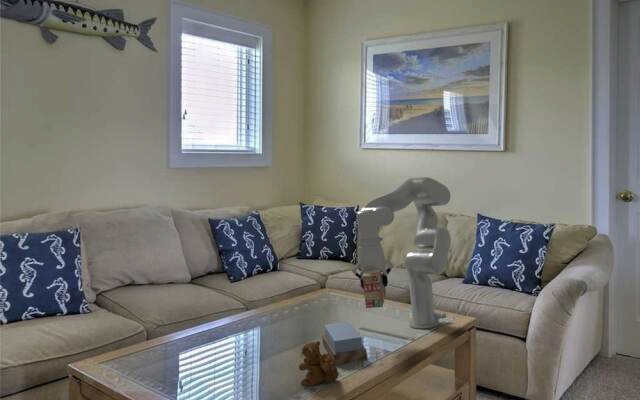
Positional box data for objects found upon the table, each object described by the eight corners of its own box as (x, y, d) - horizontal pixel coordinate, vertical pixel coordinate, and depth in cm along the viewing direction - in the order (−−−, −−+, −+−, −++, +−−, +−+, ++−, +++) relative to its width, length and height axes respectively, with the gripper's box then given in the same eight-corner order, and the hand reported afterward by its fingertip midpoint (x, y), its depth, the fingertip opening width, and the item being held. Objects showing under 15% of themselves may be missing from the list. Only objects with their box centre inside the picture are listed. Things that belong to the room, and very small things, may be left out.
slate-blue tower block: (349, 332, 230) (348, 321, 230) (362, 349, 207) (361, 337, 207) (325, 335, 229) (324, 324, 228) (335, 353, 206) (334, 341, 206)
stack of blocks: (370, 293, 231) (367, 263, 230) (386, 292, 230) (382, 262, 229) (365, 308, 210) (362, 275, 209) (382, 307, 209) (379, 274, 208)
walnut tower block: (352, 342, 232) (351, 331, 231) (367, 361, 207) (366, 349, 207) (323, 346, 230) (322, 335, 230) (335, 366, 205) (333, 354, 205)
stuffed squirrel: (312, 373, 199) (308, 336, 198) (347, 378, 192) (343, 339, 191) (296, 384, 191) (291, 346, 190) (332, 389, 183) (327, 349, 182)
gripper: (388, 237, 223) (393, 282, 224) (345, 244, 220) (350, 289, 221) (394, 240, 215) (399, 285, 217) (349, 246, 212) (355, 293, 214)
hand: (374, 287), depth 219 cm, fingers closed on stack of blocks, 7 cm apart
